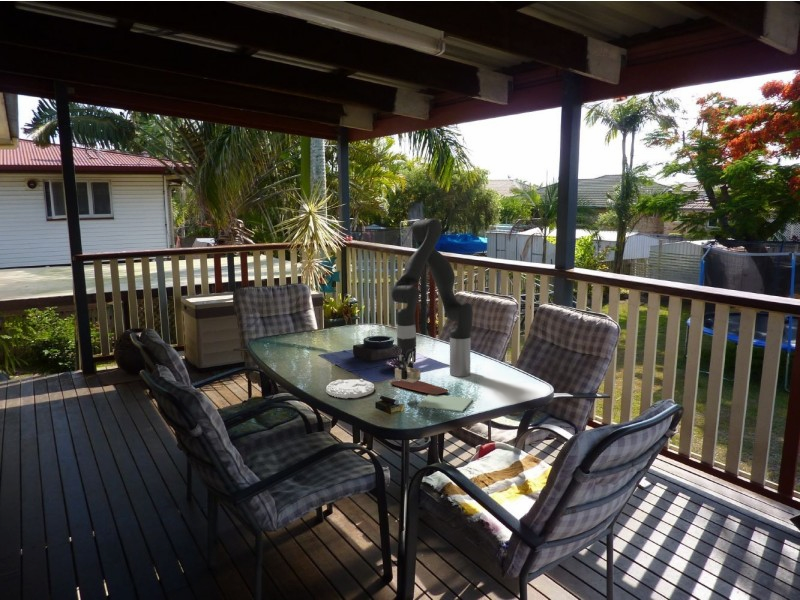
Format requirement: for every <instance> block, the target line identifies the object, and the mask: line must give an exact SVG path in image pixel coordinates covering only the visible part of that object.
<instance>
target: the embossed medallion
mask: <svg viewBox="0 0 800 600" xmlns="http://www.w3.org/2000/svg"><path fill="white" fill-rule="evenodd" d="M374 385H375V384H374V383H373V382H370V381H368V380H364V378H360V379H336V380H334V381H331V382H329V384H328V385H326V388H325V389H326V393H327V394H328V395H330V396H332V397H333V396H334V398H336V397H337V398H342V399H346V400H347V399H348V398H350V399H351V398H352V399H358V398H361V397H364V396H368V395H370V394H372V393H373V392H374V391H375V386H374Z"/></svg>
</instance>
